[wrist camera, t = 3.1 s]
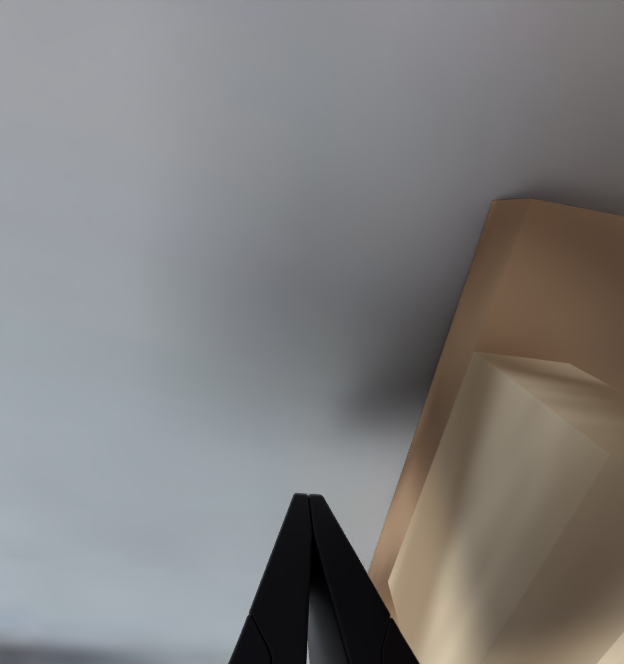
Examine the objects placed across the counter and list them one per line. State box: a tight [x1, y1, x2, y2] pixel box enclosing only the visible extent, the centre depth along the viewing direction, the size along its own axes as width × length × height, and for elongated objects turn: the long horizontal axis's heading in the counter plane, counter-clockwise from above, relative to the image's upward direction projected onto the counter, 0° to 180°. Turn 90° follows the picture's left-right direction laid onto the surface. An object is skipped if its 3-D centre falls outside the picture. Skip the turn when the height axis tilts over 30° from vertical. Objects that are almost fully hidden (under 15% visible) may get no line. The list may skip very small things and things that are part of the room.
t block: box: [388, 351, 624, 664], centre depth 9 cm, size 10×10×4 cm
